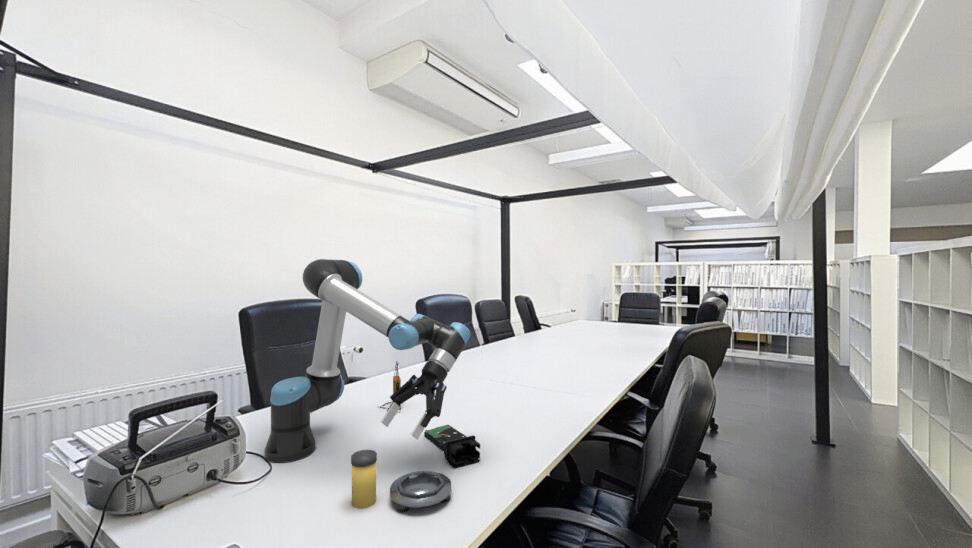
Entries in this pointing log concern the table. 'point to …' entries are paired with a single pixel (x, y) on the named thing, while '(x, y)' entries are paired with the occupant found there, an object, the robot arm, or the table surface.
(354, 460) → the capped yellow cylinder
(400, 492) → the grey round dish
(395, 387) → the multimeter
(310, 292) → the robot arm
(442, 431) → the disk drive
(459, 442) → the end cap
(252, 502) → the table surface
